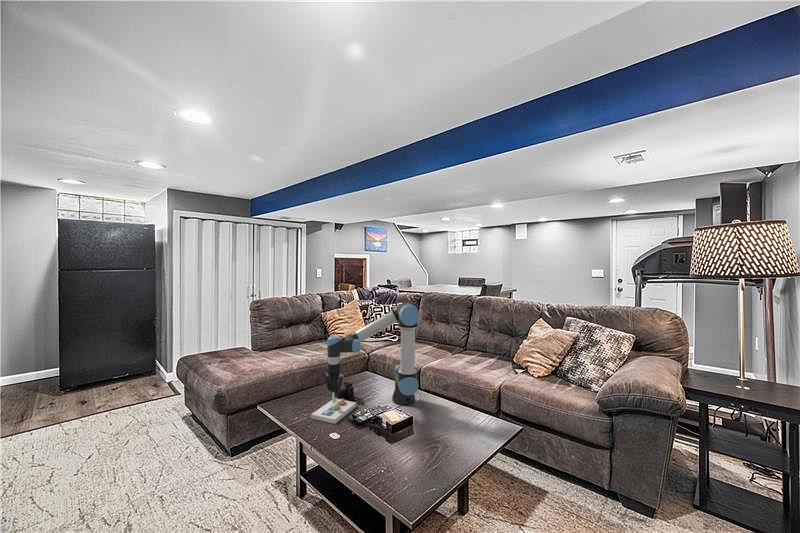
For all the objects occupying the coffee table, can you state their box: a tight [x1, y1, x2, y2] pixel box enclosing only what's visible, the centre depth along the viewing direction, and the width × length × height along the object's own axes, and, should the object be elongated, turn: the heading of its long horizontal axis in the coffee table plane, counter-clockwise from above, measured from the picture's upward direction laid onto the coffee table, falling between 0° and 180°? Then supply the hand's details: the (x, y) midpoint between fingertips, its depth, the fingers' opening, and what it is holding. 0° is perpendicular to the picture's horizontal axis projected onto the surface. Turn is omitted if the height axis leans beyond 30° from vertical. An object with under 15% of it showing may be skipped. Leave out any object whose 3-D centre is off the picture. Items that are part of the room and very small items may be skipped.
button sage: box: [331, 403, 339, 411], centre depth 200 cm, size 5×5×3 cm
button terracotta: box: [337, 399, 345, 406], centre depth 207 cm, size 5×5×3 cm
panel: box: [310, 399, 357, 424], centre depth 200 cm, size 16×24×2 cm, turn 158°
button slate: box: [324, 410, 332, 416], centre depth 194 cm, size 5×5×3 cm
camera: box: [337, 380, 355, 402], centre depth 220 cm, size 14×11×10 cm
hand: (334, 402), depth 199 cm, fingers closed
